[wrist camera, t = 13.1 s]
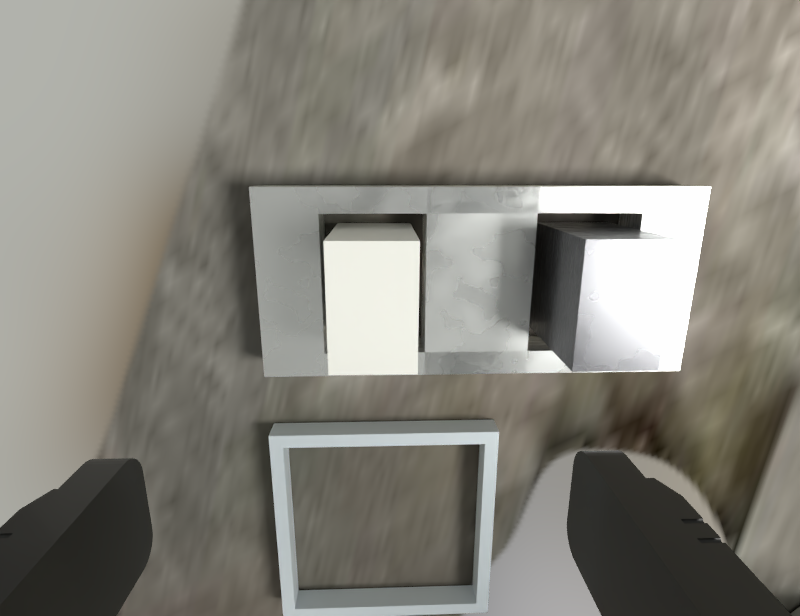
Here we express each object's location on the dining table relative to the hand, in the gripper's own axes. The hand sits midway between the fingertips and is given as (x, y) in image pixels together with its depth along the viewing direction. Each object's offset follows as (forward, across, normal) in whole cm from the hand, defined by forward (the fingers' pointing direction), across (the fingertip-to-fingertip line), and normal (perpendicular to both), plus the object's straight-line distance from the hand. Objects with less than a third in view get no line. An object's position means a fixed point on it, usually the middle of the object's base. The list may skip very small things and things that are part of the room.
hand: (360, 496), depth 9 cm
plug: (+20, 0, 0) cm, 20 cm away
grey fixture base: (+19, -6, 0) cm, 20 cm away
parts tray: (+19, 0, +16) cm, 25 cm away
